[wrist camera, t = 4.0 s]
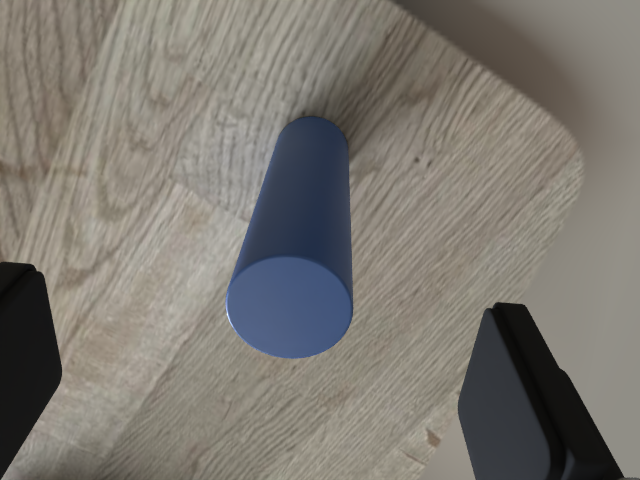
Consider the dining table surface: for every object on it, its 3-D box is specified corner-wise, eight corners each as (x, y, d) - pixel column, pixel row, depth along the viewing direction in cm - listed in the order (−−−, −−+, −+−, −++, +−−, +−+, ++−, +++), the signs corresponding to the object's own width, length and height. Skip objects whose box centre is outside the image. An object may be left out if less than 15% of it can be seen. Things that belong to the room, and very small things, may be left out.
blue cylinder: (352, 119, 21) (360, 261, 12) (344, 188, 23) (345, 364, 13) (277, 112, 21) (224, 248, 12) (274, 181, 23) (225, 353, 13)
